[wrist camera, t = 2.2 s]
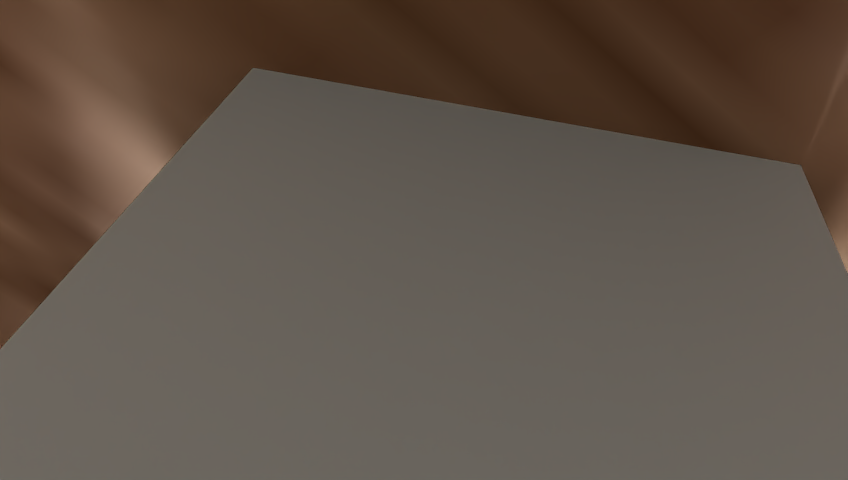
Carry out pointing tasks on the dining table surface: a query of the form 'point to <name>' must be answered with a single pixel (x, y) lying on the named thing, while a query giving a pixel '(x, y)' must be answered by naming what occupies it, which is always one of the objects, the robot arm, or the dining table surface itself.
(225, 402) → the blue cube
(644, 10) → the dining table surface
